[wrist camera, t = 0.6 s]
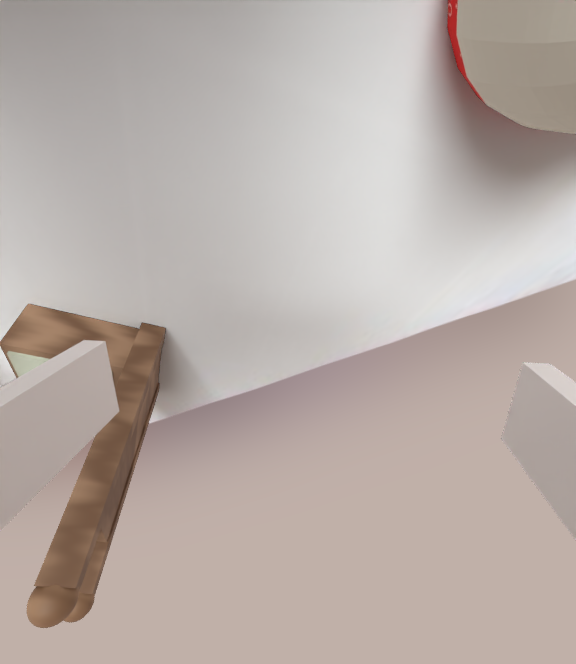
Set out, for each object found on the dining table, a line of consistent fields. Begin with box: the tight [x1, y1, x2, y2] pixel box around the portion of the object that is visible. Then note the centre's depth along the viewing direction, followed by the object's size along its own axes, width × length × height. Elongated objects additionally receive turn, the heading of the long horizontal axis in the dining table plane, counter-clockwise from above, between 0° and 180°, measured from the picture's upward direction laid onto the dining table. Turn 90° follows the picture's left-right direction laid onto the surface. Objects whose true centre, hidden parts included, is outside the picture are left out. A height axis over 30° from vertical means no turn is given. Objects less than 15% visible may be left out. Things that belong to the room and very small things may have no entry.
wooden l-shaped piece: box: [0, 304, 166, 628], centre depth 32 cm, size 13×15×24 cm
